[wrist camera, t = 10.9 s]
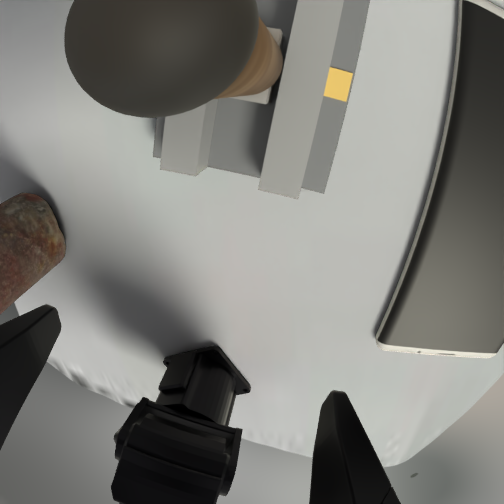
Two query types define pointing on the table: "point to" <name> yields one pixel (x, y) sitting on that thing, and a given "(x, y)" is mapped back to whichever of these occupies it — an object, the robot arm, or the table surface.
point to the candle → (26, 245)
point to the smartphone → (460, 212)
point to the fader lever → (171, 53)
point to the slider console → (278, 105)
